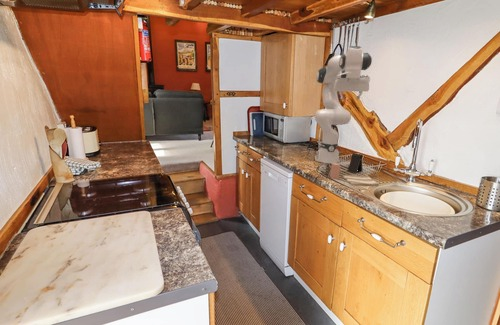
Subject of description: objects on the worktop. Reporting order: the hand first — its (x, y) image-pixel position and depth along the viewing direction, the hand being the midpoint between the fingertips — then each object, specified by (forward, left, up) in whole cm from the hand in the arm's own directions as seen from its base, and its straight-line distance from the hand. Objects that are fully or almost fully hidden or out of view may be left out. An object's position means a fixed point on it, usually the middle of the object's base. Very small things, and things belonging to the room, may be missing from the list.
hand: (350, 99), depth 169 cm
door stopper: (-7, +12, -48) cm, 50 cm away
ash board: (+14, +7, -48) cm, 50 cm away
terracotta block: (+9, -7, -48) cm, 49 cm away
